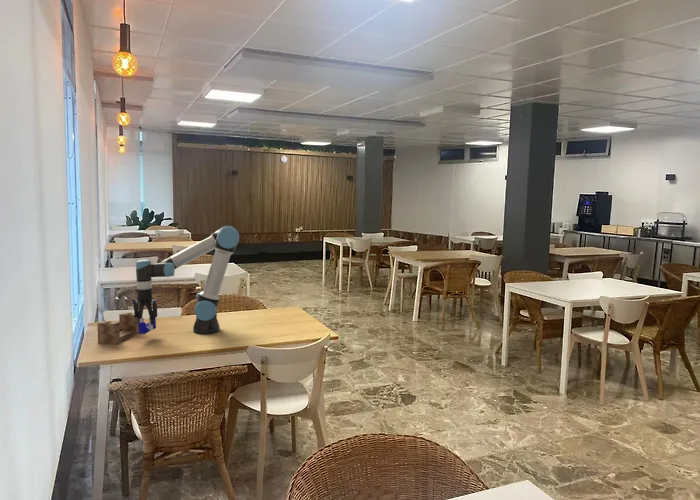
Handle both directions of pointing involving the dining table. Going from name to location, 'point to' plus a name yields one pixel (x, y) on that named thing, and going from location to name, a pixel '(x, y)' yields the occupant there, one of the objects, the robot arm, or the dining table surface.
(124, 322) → the wooden crate
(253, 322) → the dining table surface
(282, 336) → the dining table surface
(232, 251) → the robot arm
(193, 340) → the dining table surface
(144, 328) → the cable clip
